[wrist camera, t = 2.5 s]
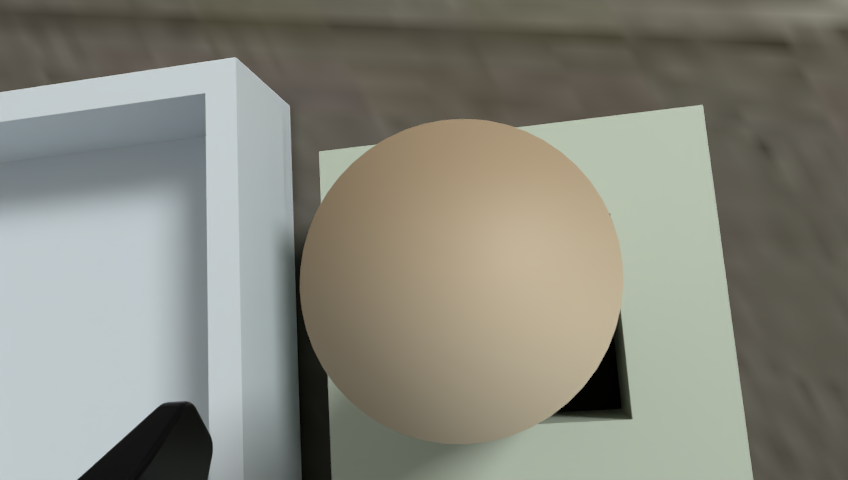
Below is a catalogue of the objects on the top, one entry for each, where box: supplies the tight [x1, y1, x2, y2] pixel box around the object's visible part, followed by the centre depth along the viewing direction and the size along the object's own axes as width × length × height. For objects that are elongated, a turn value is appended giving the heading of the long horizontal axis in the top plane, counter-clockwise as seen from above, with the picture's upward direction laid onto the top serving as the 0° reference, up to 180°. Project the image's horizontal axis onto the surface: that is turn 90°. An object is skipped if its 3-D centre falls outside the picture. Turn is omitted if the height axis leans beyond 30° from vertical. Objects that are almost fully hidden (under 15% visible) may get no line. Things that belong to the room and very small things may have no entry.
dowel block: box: [319, 105, 753, 480], centre depth 17 cm, size 8×8×4 cm
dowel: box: [300, 119, 623, 444], centre depth 13 cm, size 3×3×12 cm
